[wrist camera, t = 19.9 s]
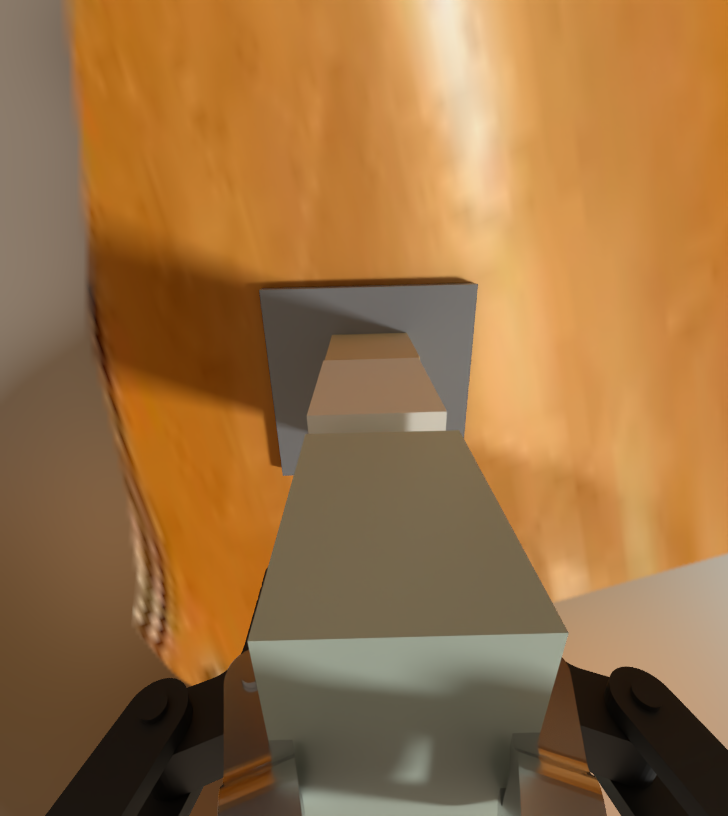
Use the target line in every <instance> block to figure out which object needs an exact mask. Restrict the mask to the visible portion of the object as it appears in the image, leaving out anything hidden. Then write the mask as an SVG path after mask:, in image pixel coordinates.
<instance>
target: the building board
mask: <svg viewBox="0 0 728 816" xmlns="http://www.w3.org/2000/svg"><path fill="white" fill-rule="evenodd" d="M477 289H478V284H476V283H447V284H409V285H371V286H333V287H295V288H262V289H260V290H259V294H260V301H261V309H262V317H263V325H264V332H265V340H266V348H267V356H268V364H269V371H270V379H271V387H272V395H273V402H274V410H275V418H276V426H277V434H278V441H279V449H280V457H281V465H282V472H283V476H284V475H294V473H295V469H296V466H297V462H298V459H299V455H300V452H301V448H302V444H303V441H304V437H305V434H308V425H307V413H308V410H309V406H310V403H311V400H312V396H313V393H314V390H315V387H316V383H317V380H318V377H319V373H320V370H321V367H322V364H323V360H355V359H388V358H419V359H420V361H421V363H422V365H423V367H424V369H425V371H426V373H427V375H428V377H429V378H430V380H431V382H432V384H433V386H434V388H435V390H436V392H437V394H438V395H439V397H440V399H441V401H442V403H443V405H444V407H445V409H446V411H447V419H446V431H451V430H459V431H460V433H461V435H462V437H463V438H464V431H465V420H466V409H467V398H468V387H469V376H470V365H471V355H472V344H473V333H474V322H475V311H476V300H477Z"/></svg>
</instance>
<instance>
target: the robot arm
mask: <svg viewBox="0 0 728 816" xmlns="http://www.w3.org/2000/svg"><path fill="white" fill-rule="evenodd" d="M267 570H268V568H267V569H266V571H265V575H264V578H263V582H262V587H263V584H264V580H265V577H266V573H267ZM262 587H261V589H260V593H259V596H258V600H257V603H256V607H255V610H254V614H253V617H252V621H251V624H250V628H249V631H248V635H247V638H246V642H245V645H244V648H243V651H242V653H241V655H239V656H238V657H237V658H236V659H235V660H234V661H233V662H232V664H231V665H230V667H229V668H228V670H227V671H225V672H224V673H222V674H221V675H219V676H217V677H215V678H213V679H210V680H207V681H205V682H202V683H199V684H196V685H194V686H191V687H188V688H186V686H185V685H184V683H183V682H181V681H180V680H178V679H173V678H166V679H161V680H158V681H156V682H153V683H151V684H150V685H148V686H147V687H145V688H144V689H143V690H141V691H140V692H139V693H138V694H137V695H136V696H135V697H134V698H133V699H132V701H131V702H130V703H129V705H128V706H127V707H126V709H125V710H124V711H123V713H122V714H121V715H120V717H119V718H118V719H117V721H116V722H115V723H114V725H113V726H112V727H111V729H110V730H109V731H108V733H107V734H106V735H105V737H104V738H103V739H102V741H101V742H100V743H99V745H98V746H97V747H96V749H95V750H94V751H93V753H92V754H91V756H90V757H89V758H88V759H87V761H86V762H85V763H84V765H83V766H82V767H81V769H80V770H79V771H78V773H77V774H76V775H75V777H74V778H73V779H72V781H71V782H70V783H69V785H68V786H67V787H66V789H65V790H64V791H63V793H62V794H61V795H60V797H59V798H58V799H57V801H56V802H55V803H54V805H53V806H52V807H51V809H50V810H49V812H48V813H47V814H46V815H45V816H189V815H190V813H191V810H192V808H193V807H194V805H195V803H196V801H197V799H198V797H199V795H200V793H201V791H202V789H203V786H205V785H207V784H209V783H212V782H214V781H216V780H219V779H221V778H223V785H222V786H221V787H220V791H219V799H218V816H305V810H304V804H303V798H302V794H301V791H300V785H299V779H298V773H297V766H296V759H295V752H294V746H293V740H268V736H267V731H266V727H265V722H264V717H263V713H262V708H261V703H260V698H259V694H258V689H257V684H256V680H255V675H254V670H253V665H252V661H251V656H250V651H249V647H248V642H247V641H248V637H249V634H250V630H251V627H252V623H253V620H254V616H255V612H256V609H257V605H258V602H259V598H260V595H261V591H262ZM590 772H591V773H593V774H594V776H593V775H591V773H590ZM599 783H600V784H601V786H602V788H603V789H604V790H605V792H606V793H607V795H608V796H609V798H610V799H611V801H612V802H613V804H614V805H615V807H616V808H617V810H618V811H619V813H620V814H621V816H728V750H727V749H726V748H725V747H724V746H723V745H722V744H721V742H719V741H718V739H717V738H716V737H715V736H714V735H713V734H712V733H711V732H710V731H709V730H708V729H707V728H706V727H705V726H704V725H703V724H702V723H701V722H700V721H699V720H698V719H697V718H696V717H695V716H694V715H693V714H692V713H691V712H690V710H689V709H688V708H687V707H686V706H685V705H684V704H683V703H682V702H681V701H680V700H679V699H678V698H677V697H676V696H675V695H674V694H673V693H672V692H671V691H670V690H669V689H668V688H667V687H666V686H665V685H664V684H663V683H662V682H661V681H659V680H658V679H657V678H655V677H654V676H652V675H651V674H649V673H647V672H645V671H643V670H640V669H637V668H633V667H620V668H617V669H615V670H614V671H613V672H612V673H611V675H610V677H607V676H603V675H600V674H597V673H593V672H590V671H586V670H583V669H580V668H577V667H575V666H573V665H570V664H569V663H567V662H565V660H564V659H563V658H561V661H560V665H559V668H558V672H557V675H556V679H555V682H554V686H553V689H552V693H551V696H550V700H549V703H548V707H547V710H546V714H545V718H544V721H543V725H542V728H541V732H536V733H513V734H512V738H511V743H510V767H509V778H508V783H507V787H506V788H500V791H499V795H498V811H497V816H607V814H606V809H605V804H604V799H603V795H602V791H601V788H600V785H599Z"/></svg>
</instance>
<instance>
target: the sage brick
mask: <svg viewBox="0 0 728 816" xmlns="http://www.w3.org/2000/svg"><path fill="white" fill-rule="evenodd" d="M567 637H568V631H567V629H566V627H565V625H564V624H563V622H562V620H561V618H560V616H559V615H558V612H557V611H556V609H555V607H554V605H553V603H552V601H551V599H550V598H549V596H548V594H547V592H546V590H545V588H544V586H543V585H542V583H541V581H540V579H539V577H538V575H537V573H536V572H535V570H534V568H533V566H532V564H531V562H530V561H529V559H528V557H527V555H526V553H525V551H524V549H523V548H522V546H521V544H520V542H519V540H518V538H517V536H516V535H515V533H514V531H513V529H512V527H511V525H510V524H509V522H508V520H507V518H506V516H505V514H504V512H503V511H502V509H501V507H500V505H499V503H498V501H497V499H496V498H495V496H494V494H493V492H492V490H491V488H490V487H489V485H488V483H487V481H486V479H485V477H484V475H483V474H482V472H481V470H480V468H479V466H478V464H477V462H476V461H475V459H474V457H473V455H472V453H471V451H470V450H469V448H468V446H467V444H466V442H465V440H464V438H463V437H462V435H461V433H460V431H459V430H451V431H410V432H369V433H327V434H305V437H304V441H303V444H302V448H301V452H300V455H299V459H298V462H297V466H296V469H295V473H294V477H293V480H292V484H291V487H290V491H289V494H288V498H287V502H286V505H285V509H284V512H283V516H282V520H281V523H280V527H279V530H278V534H277V537H276V541H275V545H274V548H273V552H272V555H271V559H270V562H269V566H268V570H267V573H266V577H265V580H264V584H263V587H262V591H261V595H260V598H259V602H258V605H257V609H256V612H255V616H254V620H253V623H252V627H251V630H250V634H249V637H248V641H247V642H248V647H249V651H250V656H251V661H252V665H253V670H254V675H255V680H256V684H257V689H258V694H259V698H260V703H261V708H262V713H263V717H264V722H265V727H266V731H267V736H268V740H293V746H294V752H295V759H296V766H297V773H298V779H299V785H300V791H301V794H302V798H303V804H304V810H305V816H497V811H498V795H499V791H500V788H506V787H507V783H508V778H509V767H510V743H511V738H512V734H513V733H536V732H541V728H542V725H543V721H544V718H545V714H546V710H547V707H548V703H549V700H550V696H551V693H552V689H553V686H554V682H555V679H556V675H557V672H558V668H559V665H560V661H561V658H562V654H563V651H564V647H565V644H566V640H567Z"/></svg>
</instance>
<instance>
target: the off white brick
mask: <svg viewBox="0 0 728 816" xmlns="http://www.w3.org/2000/svg"><path fill="white" fill-rule="evenodd" d="M446 419H447V411H446V409H445V407H444V405H443V403H442V401H441V399H440V397H439V395H438V394H437V392H436V390H435V388H434V386H433V384H432V382H431V380H430V378H429V377H428V375H427V373H426V371H425V369H424V367H423V365H422V363H421V361H420V359H419V358H388V359H355V360H323V364H322V367H321V370H320V373H319V377H318V380H317V383H316V387H315V390H314V393H313V396H312V400H311V403H310V406H309V410H308V413H307V425H308V434H327V433H369V432H410V431H446Z"/></svg>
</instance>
